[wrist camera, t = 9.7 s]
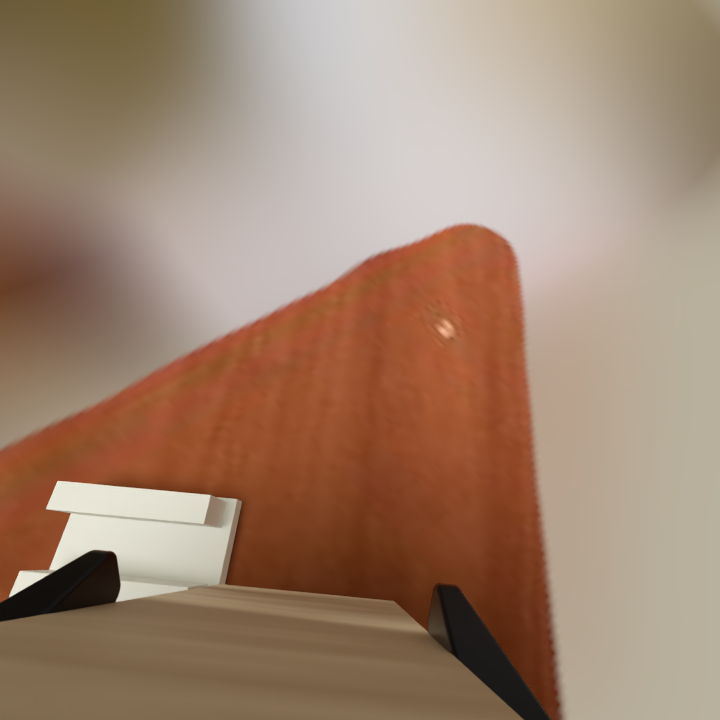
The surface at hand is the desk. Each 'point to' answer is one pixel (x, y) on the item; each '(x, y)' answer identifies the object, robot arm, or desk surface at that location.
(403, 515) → the desk surface
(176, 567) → the offcut rack
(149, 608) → the grey brown wooden board
